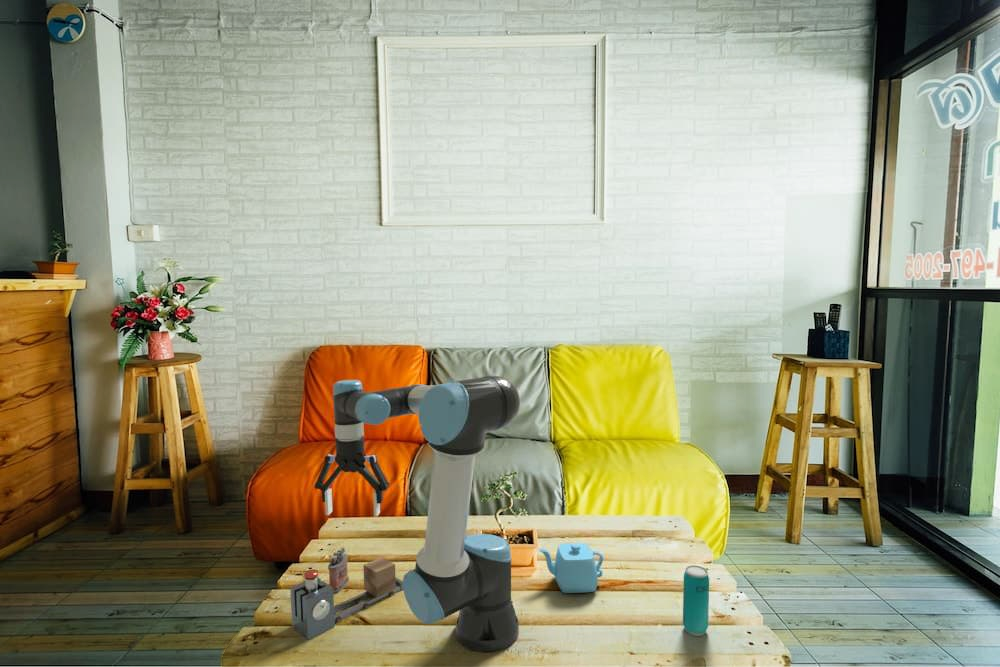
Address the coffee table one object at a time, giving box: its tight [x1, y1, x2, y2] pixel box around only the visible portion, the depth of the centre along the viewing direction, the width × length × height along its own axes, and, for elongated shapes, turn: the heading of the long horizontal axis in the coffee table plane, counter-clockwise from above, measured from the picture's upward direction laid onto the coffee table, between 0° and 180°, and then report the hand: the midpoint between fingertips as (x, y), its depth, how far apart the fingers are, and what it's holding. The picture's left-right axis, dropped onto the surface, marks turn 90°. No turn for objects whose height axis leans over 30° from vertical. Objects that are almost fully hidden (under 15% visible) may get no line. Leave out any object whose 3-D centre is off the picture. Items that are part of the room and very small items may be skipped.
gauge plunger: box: [303, 569, 319, 595], centre depth 139 cm, size 3×3×7 cm
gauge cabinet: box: [289, 576, 336, 641], centre depth 139 cm, size 8×7×10 cm
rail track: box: [294, 577, 403, 637], centre depth 147 cm, size 6×29×2 cm, turn 136°
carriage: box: [363, 556, 397, 598], centre depth 153 cm, size 6×6×7 cm
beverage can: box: [682, 565, 710, 637], centre depth 136 cm, size 6×6×15 cm
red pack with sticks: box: [327, 546, 350, 595], centre depth 157 cm, size 8×3×10 cm, turn 168°
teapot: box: [538, 542, 604, 594], centre depth 157 cm, size 12×18×12 cm
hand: (353, 514), depth 155 cm, fingers open, 13 cm apart
